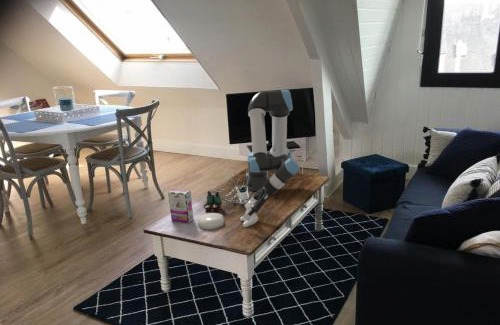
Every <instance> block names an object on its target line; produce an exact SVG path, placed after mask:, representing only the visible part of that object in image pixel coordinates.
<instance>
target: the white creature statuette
mask: <svg viewBox="0 0 500 325" xmlns="http://www.w3.org/2000/svg"><path fill="white" fill-rule="evenodd" d="M247 203H248V204H247ZM247 203H246V204H247V206H246V207H245V209H246V210H245V214H246V213H247V212H248V211H249V210H250V209H251V207H253V206H254V205H255V203H253V202H252V200H251V201H250V200H248V201H247ZM243 216H244V215H242V216H241V217H240V218H239V221H240V222H243V223H242V226H243V228H247V227H250V226H252V225H254V224H256V223H257V222H258V219H259V218H258V215H257V214H256V212H255V213H254V214H253V215H252V216H251V217H250V218H249V219H248V220H245V219H244V218H243Z"/></svg>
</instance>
